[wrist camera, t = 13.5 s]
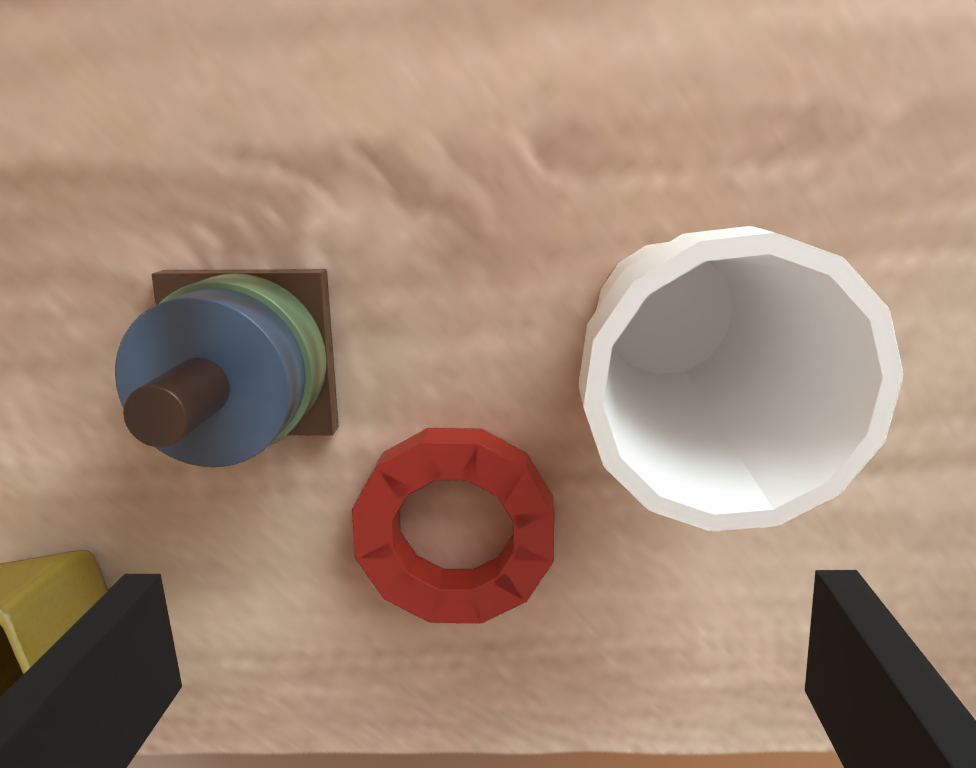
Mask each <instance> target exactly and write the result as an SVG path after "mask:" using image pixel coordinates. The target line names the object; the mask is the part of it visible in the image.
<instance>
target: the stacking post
mask: <svg viewBox="0 0 976 768" xmlns="http://www.w3.org/2000/svg"><path fill="white" fill-rule="evenodd" d="M152 280H153V287H154V294H155V301H156V306H154V307H152V308H150V309H148V310H147V311H146V312H144V313H143V314H142V315H140V316H139V317H138V318H137V319H136V320H135V321H134V322H133V323H132V324H131V326H130V327H129V329H128V330H127V331H126V333H125V335H124V337H123V339H122V341H121V343H120V347H119V350H118V353H117V358H116V365H115V378H116V386H117V391H118V395H119V398H120V401H121V404H122V406H123V408H124V411H123V414H124V420H125V423H126V425H127V427H128V429H129V431H130V432H131V433H132V434H133V436H134V437H136V438H137V439H138V440H139V441H141V442H143V443H145V444H147V445H150V446H154V447H156V448H157V449H158V450H160V451H161V452H163V453H165V454H167V455H168V456H170V457H172V458H175V459H177V460H179V461H182V462H185V463H188V464H192V465H197V466H204V467H224V466H230V465H235V464H238V463H241V462H244V461H246V460H248V459H250V458H252V457H254V456H256V455H257V454H259V453H260V452H262V451H263V450H264V449H265V448H266V447H267V446H269V445H272V444H274V443H276V442H277V441H279V440H280V439H282V438H283V437H285V436H286V435H333V434H334V433H335V431H336V430H337V428H338V427H339V425H338V412H337V399H336V386H335V372H334V359H333V346H332V333H331V320H330V306H329V293H328V280H327V270H326V269H290V270H163V271H159V272H156V273H153V274H152Z"/></svg>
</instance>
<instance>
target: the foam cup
mask: <svg viewBox="0 0 976 768" xmlns="http://www.w3.org/2000/svg"><path fill="white" fill-rule="evenodd" d="M903 377H904V374H903V369H902V364H901V360H900V355H899V350H898V346H897V341H896V336H895V332H894V327H893V322H892V318H891V313H890V309H889V308H888V307H887V306H886V304H885V303H884V302H883V301H882V300H881V299H880V298H879V297H878V295H877V294H876V293H875V292H874V291H873V290H872V289H871V288H870V286H869V285H868V284H867V283H866V282H865V281H864V280H863V279H862V277H861V276H860V275H859V274H858V273H857V272H856V271H855V270H854V268H853V267H852V266H851V265H850V264H849V263H848V262H847V261H846V259H845V258H844V257H841V256H839V255H836V254H833V253H830V252H827V251H825V250H822V249H819V248H816V247H813V246H811V245H808V244H805V243H802V242H800V241H797V240H794V239H791V238H788V237H786V236H783V235H780V234H777V233H774V232H771V231H767V230H763V229H760V228H756V227H753V226H746V227H738V228H729V229H721V230H712V231H703V232H695V233H686V234H682V235H680V236H678V237H677V238H675V239H673V240H672V241H670V242H666V243H659V244H651V245H646V246H644V247H643V248H641V249H639V250H638V251H636V252H634V253H633V254H631V255H629V256H628V257H626V258H625V259H623V260H621V261H620V262H618V264H617V265H616V267H615V268H614V270H613V271H612V273H611V274H610V276H609V277H608V279H607V280H606V282H605V283H604V285H603V286H602V288H601V291H600V295H599V300H598V305H597V309H596V312H595V313H594V315H593V316H592V318H591V319H590V321H589V322H588V324H587V330H586V336H585V343H584V350H583V357H582V364H581V371H580V377H579V384H578V385H579V390H580V394H581V399H582V403H583V407H584V410H585V413H586V416H587V419H588V422H589V425H590V428H591V431H592V434H593V437H594V440H595V443H596V446H597V448H598V451H599V454H600V457H601V460H602V463H603V466H604V468H605V469H606V470H607V471H608V472H609V473H611V474H612V475H613V476H614V477H615V478H616V479H617V480H618V481H619V482H620V483H621V484H622V485H623V486H624V487H625V488H626V489H627V490H628V491H629V492H630V493H631V494H632V495H633V496H634V497H635V498H636V499H637V500H638V501H639V502H641V503H642V504H643V505H644V506H645V507H646V508H647V509H648V510H649V511H651V512H654V513H657V514H660V515H663V516H666V517H669V518H672V519H675V520H678V521H681V522H684V523H687V524H690V525H693V526H696V527H699V528H702V529H705V530H707V531H710V532H712V531H724V530H736V529H748V528H760V527H773V526H779V525H781V524H783V523H785V522H787V521H789V520H791V519H793V518H795V517H797V516H799V515H801V514H803V513H805V512H807V511H809V510H811V509H813V508H815V507H817V506H819V505H821V504H823V503H825V502H827V501H829V500H831V499H832V498H834V497H836V496H838V495H840V494H841V493H842V492H843V491H844V490H845V488H846V487H847V486H848V485H849V484H850V482H851V481H852V480H853V479H854V478H855V477H856V475H857V474H858V473H859V472H860V471H861V470H862V468H863V467H864V466H865V465H866V464H867V463H868V461H869V460H870V459H871V458H872V457H873V455H874V454H875V453H876V452H877V451H878V450H879V448H880V447H881V446H882V445H883V444H884V443H885V441H886V438H887V434H888V430H889V427H890V423H891V420H892V416H893V413H894V409H895V405H896V402H897V398H898V395H899V391H900V388H901V384H902V381H903Z"/></svg>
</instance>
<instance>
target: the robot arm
mask: <svg viewBox="0 0 976 768" xmlns="http://www.w3.org/2000/svg"><path fill="white" fill-rule="evenodd" d="M181 687H182V683H181V678H180V673H179V667H178V662H177V657H176V652H175V646H174V641H173V636H172V631H171V626H170V620H169V615H168V610H167V605H166V599H165V594H164V589H163V584H162V579H161V574H125V575H123V576H122V577H121V578H120V579H119V580H118V581H117V582H116V583H115V584H114V585H113V586H112V587H111V588H110V589H109V590H108V591H107V592H106V593H105V594H104V595H103V596H102V597H101V598H100V599H99V600H98V601H97V602H96V603H95V604H94V605H93V606H92V607H91V608H90V609H89V610H88V611H87V612H86V613H85V614H84V615H83V616H82V617H81V618H80V619H79V620H78V621H77V622H76V623H75V624H74V625H73V626H72V627H71V628H70V629H69V630H68V631H67V632H66V633H65V634H64V635H63V636H62V637H61V638H60V639H59V640H58V641H57V642H56V643H55V644H54V645H53V646H52V647H51V648H50V649H49V650H48V651H47V652H46V653H44V654H43V655H42V656H41V657H40V658H39V659H38V660H37V661H36V662H35V663H34V664H33V665H32V666H31V667H30V668H29V669H28V670H27V671H26V672H25V673H24V674H23V675H22V676H21V677H20V678H19V679H18V680H17V681H16V682H15V683H14V684H13V685H12V686H11V687H10V688H9V689H8V690H7V691H6V692H5V693H4V694H3V695H2V696H1V697H0V768H127V766H128V765H129V763H130V762H131V760H132V759H133V758H134V756H135V755H136V753H137V752H138V750H139V749H140V747H141V746H142V744H143V743H144V742H145V740H146V739H147V737H148V736H149V734H150V733H151V731H152V730H153V728H154V727H155V725H156V724H157V723H158V721H159V720H160V718H161V717H162V715H163V714H164V712H165V711H166V709H167V708H168V706H169V705H170V704H171V702H172V701H173V699H174V698H175V696H176V695H177V693H178V692H179V690H180V689H181ZM805 692H806V694H807V696H808V698H809V700H810V702H811V704H812V706H813V708H814V710H815V712H816V714H817V716H818V718H819V719H820V721H821V723H822V725H823V727H824V729H825V731H826V733H827V735H828V737H829V739H830V741H831V743H832V745H833V747H834V749H835V751H836V753H837V755H838V757H839V759H840V761H841V762H842V765H843V766H844V768H976V720H975V719H974V718H973V716H972V715H971V714H970V713H969V711H968V710H967V709H966V708H965V706H964V705H963V704H962V703H961V701H960V700H959V699H958V697H957V696H956V695H955V694H954V692H953V691H952V690H951V689H950V687H949V686H948V685H947V684H946V682H945V681H944V680H943V679H942V677H941V676H940V675H939V673H938V672H937V671H936V670H935V668H934V667H933V666H932V665H931V663H930V662H929V661H928V660H927V658H926V657H925V656H924V655H923V653H922V652H921V651H920V649H919V648H918V647H917V646H916V644H915V643H914V642H913V641H912V639H911V638H910V637H909V636H908V634H907V633H906V632H905V631H904V629H903V628H902V627H901V625H900V624H899V623H898V622H897V620H896V619H895V618H894V617H893V615H892V614H891V613H890V612H889V610H888V609H887V608H886V607H885V605H884V604H883V603H882V601H881V600H880V599H879V598H878V596H877V595H876V594H875V593H874V591H873V590H872V589H871V588H870V586H869V585H868V584H867V583H866V581H865V580H864V579H863V577H862V576H861V575H860V574H859V572H858V571H857V570H816V571H815V582H814V593H813V604H812V615H811V626H810V637H809V648H808V659H807V670H806V681H805Z"/></svg>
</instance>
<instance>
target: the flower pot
mask: <svg viewBox="0 0 976 768" xmlns="http://www.w3.org/2000/svg"><path fill="white" fill-rule="evenodd" d="M106 592H107V589H106V586H105V584H104V581H103V578H102V575H101V573H100V570H99V567H98V565H97V562H96V559H95V558H94V556H93V555H92V553H90V552H88V551H74V552H68V553H62V554H56V555H50V556H44V557H38V558H32V559H26V560H20V561H14V562H7V563H1V564H0V697H1V696H2V695H3V694H4V693H5V692H6V691H7V690H8V689H9V688H10V687H11V686H12V685H13V684H14V683H15V682H16V681H17V680H18V679H19V678H20V677H21V676H22V675H23V674H24V673H25V672H26V671H27V670H28V669H29V668H30V667H31V666H32V665H33V664H34V663H35V662H36V661H37V660H38V659H39V658H40V657H41V656H42V655H43V654H44V653H46V652H47V651H48V650H49V649H50V648H51V647H52V646H53V645H54V644H55V643H56V642H57V641H58V640H59V639H60V638H61V637H62V636H63V635H64V634H65V633H66V632H67V631H68V630H69V629H70V628H71V627H72V626H73V625H74V624H75V623H76V622H77V621H78V620H79V619H80V618H81V617H82V616H83V615H84V614H85V613H86V612H87V611H88V610H89V609H90V608H91V607H92V606H93V605H94V604H95V603H96V602H97V601H98V600H99V599H100V598H101V597H102V596H103V595H104V594H105V593H106Z"/></svg>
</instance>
